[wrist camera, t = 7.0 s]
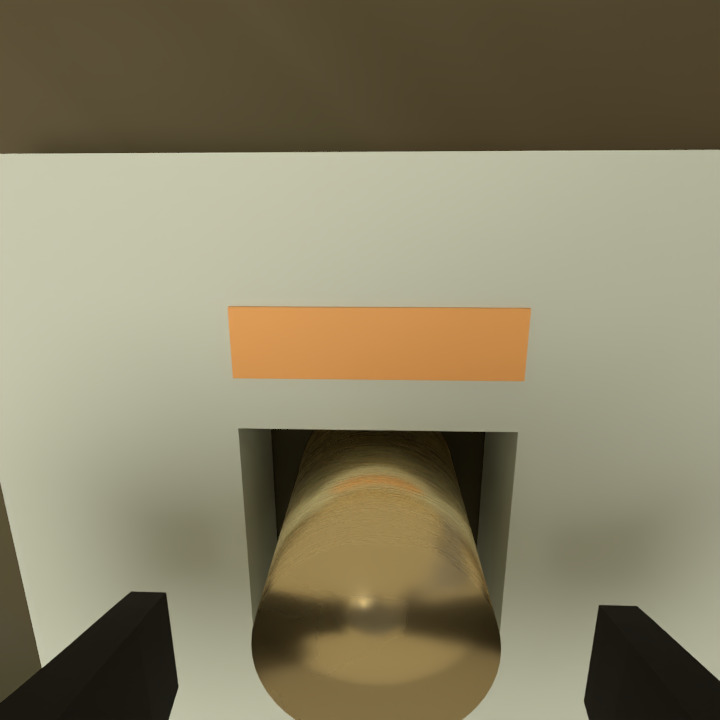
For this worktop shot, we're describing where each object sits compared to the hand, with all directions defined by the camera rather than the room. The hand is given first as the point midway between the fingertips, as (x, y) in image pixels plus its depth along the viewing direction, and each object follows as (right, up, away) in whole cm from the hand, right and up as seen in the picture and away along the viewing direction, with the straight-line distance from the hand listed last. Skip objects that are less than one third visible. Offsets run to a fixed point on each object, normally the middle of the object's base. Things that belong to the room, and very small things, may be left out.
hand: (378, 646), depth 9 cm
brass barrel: (0, +2, +5) cm, 6 cm away
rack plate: (0, +2, +5) cm, 6 cm away
